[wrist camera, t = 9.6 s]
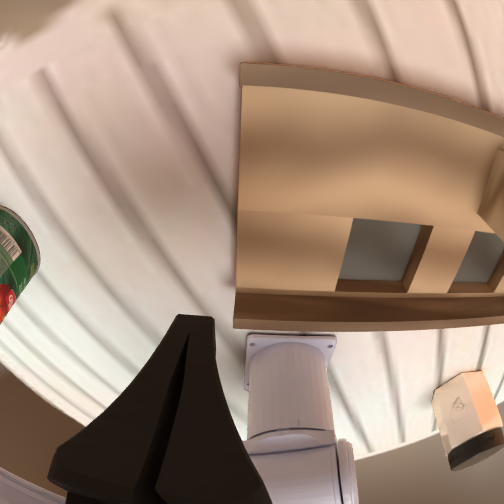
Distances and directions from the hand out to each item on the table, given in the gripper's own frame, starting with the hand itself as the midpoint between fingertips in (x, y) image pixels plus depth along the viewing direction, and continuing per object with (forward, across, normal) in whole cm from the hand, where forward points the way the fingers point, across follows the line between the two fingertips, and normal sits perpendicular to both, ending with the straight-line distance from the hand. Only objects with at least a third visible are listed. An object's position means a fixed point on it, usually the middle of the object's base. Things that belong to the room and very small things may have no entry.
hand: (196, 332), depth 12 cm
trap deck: (+10, -14, -1) cm, 17 cm away
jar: (+11, -32, +25) cm, 42 cm away
